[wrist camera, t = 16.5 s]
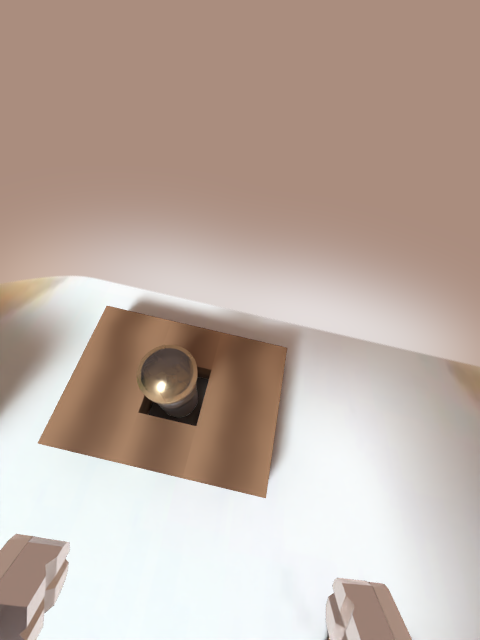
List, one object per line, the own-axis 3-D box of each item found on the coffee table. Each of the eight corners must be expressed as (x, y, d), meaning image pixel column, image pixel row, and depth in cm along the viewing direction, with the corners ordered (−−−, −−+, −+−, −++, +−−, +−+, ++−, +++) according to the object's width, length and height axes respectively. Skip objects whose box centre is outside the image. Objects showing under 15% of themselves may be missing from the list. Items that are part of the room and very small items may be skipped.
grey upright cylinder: (208, 388, 32) (207, 359, 23) (187, 428, 30) (178, 413, 21) (172, 370, 32) (157, 335, 23) (149, 408, 30) (124, 385, 21)
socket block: (279, 359, 34) (287, 347, 30) (258, 493, 27) (265, 498, 24) (117, 322, 34) (106, 305, 31) (59, 445, 28) (37, 443, 24)
